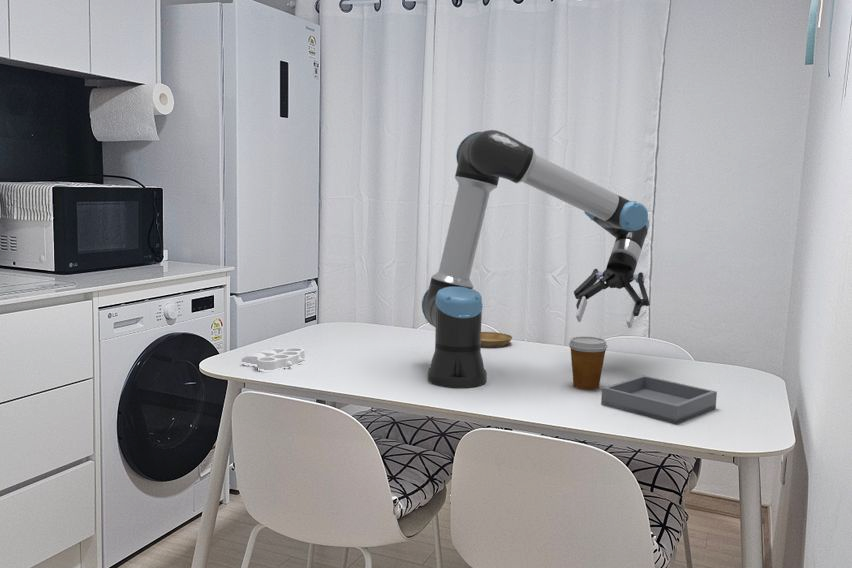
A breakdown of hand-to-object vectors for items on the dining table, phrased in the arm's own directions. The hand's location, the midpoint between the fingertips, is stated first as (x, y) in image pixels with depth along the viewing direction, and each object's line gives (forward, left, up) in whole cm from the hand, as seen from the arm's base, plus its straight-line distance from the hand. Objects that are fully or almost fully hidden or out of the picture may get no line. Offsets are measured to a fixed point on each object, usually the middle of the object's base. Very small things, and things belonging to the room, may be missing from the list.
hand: (603, 321), depth 201 cm
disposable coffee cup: (+3, -10, -15) cm, 19 cm away
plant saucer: (-47, +9, -15) cm, 51 cm away
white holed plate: (-66, -57, -16) cm, 89 cm away
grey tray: (+24, -12, -15) cm, 30 cm away
